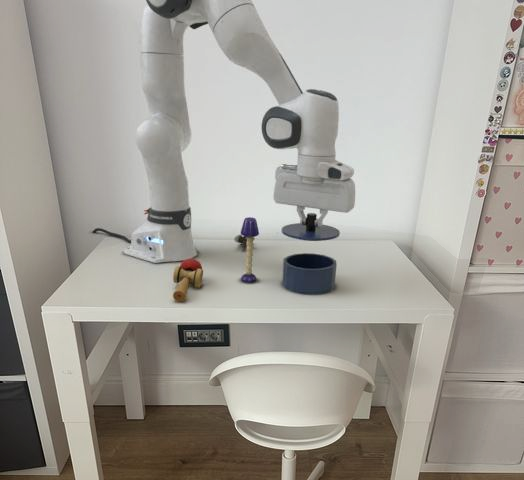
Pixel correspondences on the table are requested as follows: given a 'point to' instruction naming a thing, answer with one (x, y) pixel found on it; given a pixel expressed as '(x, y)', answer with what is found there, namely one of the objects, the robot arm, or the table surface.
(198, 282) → the kendama
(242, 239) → the eagle figurine
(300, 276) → the pot
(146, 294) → the table surface
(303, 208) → the robot arm
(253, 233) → the toy lamp
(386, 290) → the table surface
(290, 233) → the lid
